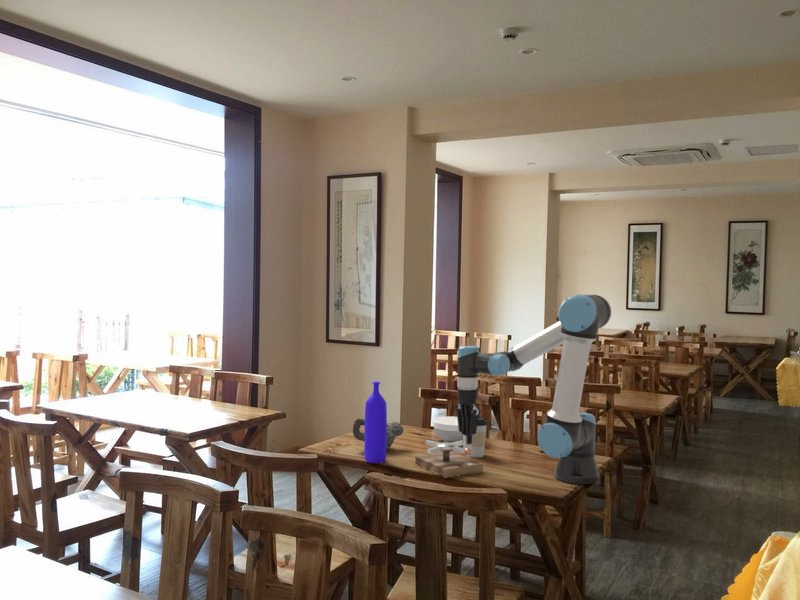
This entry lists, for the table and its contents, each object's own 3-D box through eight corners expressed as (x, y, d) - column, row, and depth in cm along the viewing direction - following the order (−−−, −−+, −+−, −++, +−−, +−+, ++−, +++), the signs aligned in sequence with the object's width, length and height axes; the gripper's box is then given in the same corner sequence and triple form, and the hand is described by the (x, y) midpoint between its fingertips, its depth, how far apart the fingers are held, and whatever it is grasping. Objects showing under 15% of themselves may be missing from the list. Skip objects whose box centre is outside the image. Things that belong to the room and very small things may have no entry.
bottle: (378, 465, 250) (379, 384, 250) (359, 461, 255) (360, 382, 254) (390, 460, 258) (391, 381, 257) (372, 457, 262) (373, 379, 261)
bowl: (424, 441, 289) (424, 421, 289) (447, 434, 304) (447, 414, 304) (463, 448, 278) (463, 427, 278) (484, 440, 294) (485, 419, 294)
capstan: (486, 450, 246) (487, 444, 246) (453, 460, 232) (453, 453, 232) (442, 441, 261) (442, 435, 261) (408, 449, 246) (408, 443, 246)
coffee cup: (485, 458, 262) (486, 420, 261) (462, 457, 264) (462, 418, 263) (487, 453, 271) (487, 415, 270) (464, 451, 272) (465, 414, 272)
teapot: (399, 444, 284) (399, 408, 284) (408, 450, 273) (408, 413, 273) (349, 447, 277) (349, 410, 277) (356, 454, 266) (357, 416, 266)
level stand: (482, 472, 243) (483, 453, 243) (445, 478, 235) (445, 458, 235) (451, 459, 260) (451, 441, 260) (415, 464, 252) (415, 446, 252)
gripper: (486, 390, 245) (486, 455, 246) (465, 385, 257) (465, 447, 257) (469, 391, 242) (469, 457, 242) (449, 386, 253) (448, 449, 253)
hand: (467, 452), depth 250 cm, fingers closed
